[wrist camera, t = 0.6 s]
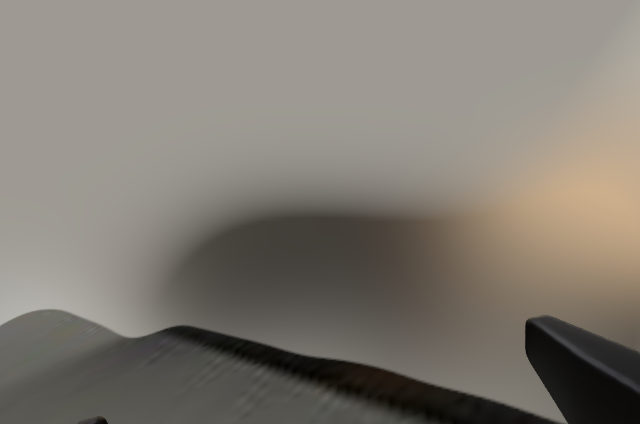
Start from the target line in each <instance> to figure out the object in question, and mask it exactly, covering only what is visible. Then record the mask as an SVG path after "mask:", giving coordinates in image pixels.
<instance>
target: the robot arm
mask: <svg viewBox="0 0 640 424" xmlns="http://www.w3.org/2000/svg"><path fill="white" fill-rule="evenodd" d="M525 349H526V354H527V357H528V359H529V361H530V363H531V365H532V366H533V368H534V369H535V371H536V373H537V374H538V376H539V377H540V379H541V381H542V382H543V384H544V385H545V387H546V388H547V390H548V392H549V393H550V395H551V397H552V398H553V400H554V401H555V403H556V404H557V406H558V408H559V410H560V411H561V413H562V414H563V416H564V417H565V419H566V421H567V422H568V424H640V352H638V351H636V350H634V349H631V348H629V347H626V346H624V345H621V344H619V343H616V342H614V341H611V340H609V339H606V338H604V337H601V336H599V335H597V334H594V333H592V332H589V331H586V330H584V329H582V328H579V327H576V326H574V325H572V324H569V323H567V322H564V321H561V320H559V319H557V318H554V317H551V316H549V315H542V316H538V317H533V318H529V319H528V320H527V321H526V325H525ZM77 424H108V423H107V421H106V419H105V418H103V417H101V416H97V417H93V418H88V419H84V420H81V421H79V422H78V423H77Z"/></svg>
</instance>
